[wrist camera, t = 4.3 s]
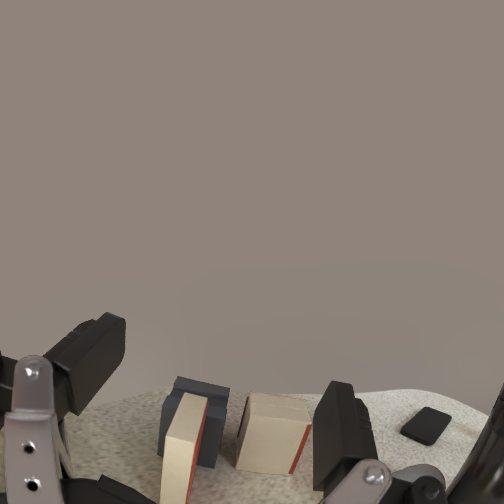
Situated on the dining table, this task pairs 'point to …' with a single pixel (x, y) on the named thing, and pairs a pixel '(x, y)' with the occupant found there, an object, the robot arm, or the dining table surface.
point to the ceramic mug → (419, 473)
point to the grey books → (212, 422)
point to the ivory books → (272, 434)
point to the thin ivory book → (182, 449)
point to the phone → (426, 425)
